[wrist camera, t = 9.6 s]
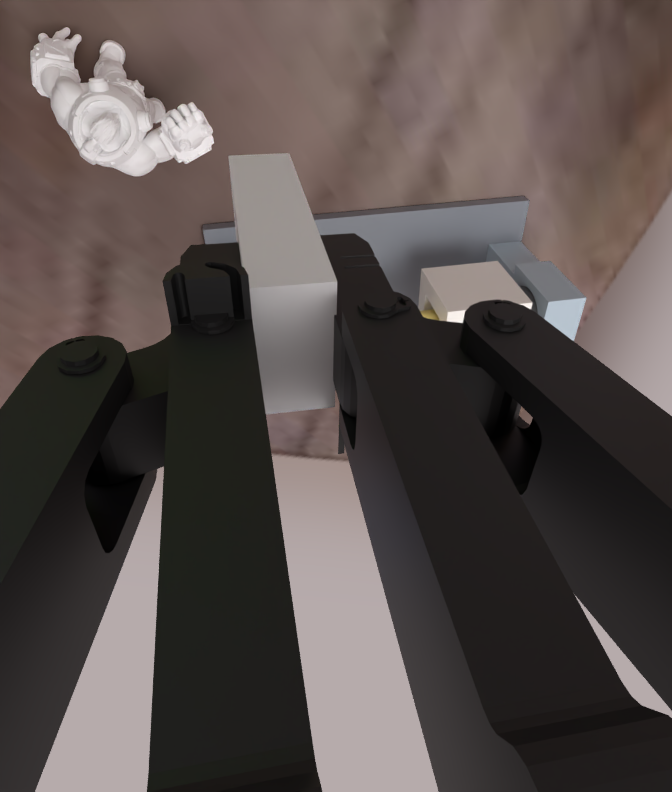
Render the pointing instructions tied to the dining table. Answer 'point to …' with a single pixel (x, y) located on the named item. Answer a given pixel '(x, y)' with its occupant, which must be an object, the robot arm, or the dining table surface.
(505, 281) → the sleeve
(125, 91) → the figurine
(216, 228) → the grey rod stand
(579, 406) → the robot arm
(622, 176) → the dining table surface
